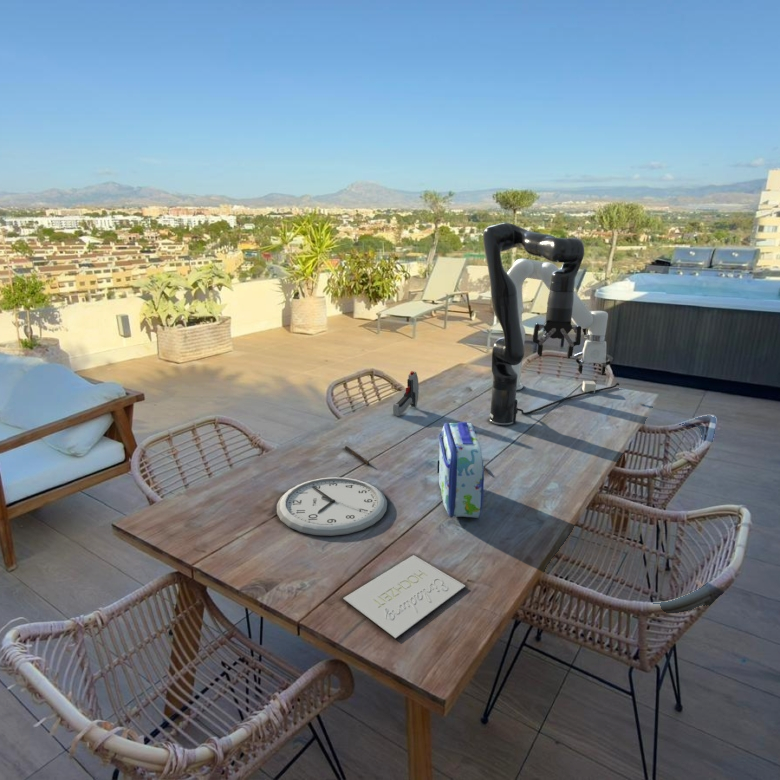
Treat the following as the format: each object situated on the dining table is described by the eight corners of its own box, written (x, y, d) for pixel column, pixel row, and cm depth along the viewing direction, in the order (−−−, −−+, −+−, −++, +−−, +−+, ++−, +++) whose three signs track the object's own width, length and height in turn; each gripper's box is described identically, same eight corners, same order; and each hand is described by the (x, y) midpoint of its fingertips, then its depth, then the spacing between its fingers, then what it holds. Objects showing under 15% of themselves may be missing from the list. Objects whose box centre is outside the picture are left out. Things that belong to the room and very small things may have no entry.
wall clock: (392, 527, 129) (268, 531, 127) (391, 533, 130) (269, 537, 127) (383, 473, 158) (282, 475, 155) (383, 478, 158) (282, 480, 156)
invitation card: (413, 554, 121) (465, 585, 111) (413, 555, 121) (465, 586, 111) (343, 597, 107) (395, 637, 97) (343, 598, 107) (395, 638, 97)
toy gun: (392, 379, 206) (413, 369, 217) (393, 417, 212) (414, 405, 223) (397, 380, 205) (418, 370, 216) (398, 418, 210) (418, 406, 222)
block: (583, 392, 246) (584, 383, 245) (582, 389, 251) (583, 380, 250) (594, 392, 246) (596, 384, 244) (593, 389, 250) (594, 381, 249)
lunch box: (435, 478, 159) (438, 413, 153) (470, 478, 159) (475, 414, 153) (442, 524, 134) (446, 449, 128) (484, 525, 134) (490, 450, 128)
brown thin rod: (344, 448, 179) (344, 445, 179) (346, 448, 179) (346, 445, 179) (367, 464, 167) (367, 462, 167) (368, 464, 167) (368, 461, 167)
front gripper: (537, 306, 158) (531, 358, 163) (586, 308, 156) (579, 361, 161) (535, 303, 165) (530, 353, 170) (582, 305, 163) (575, 355, 168)
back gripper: (577, 338, 239) (573, 374, 244) (617, 340, 236) (612, 377, 241) (575, 335, 246) (570, 370, 251) (614, 337, 243) (608, 372, 248)
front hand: (554, 357), depth 165 cm, fingers open, 8 cm apart
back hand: (591, 373), depth 246 cm, fingers open, 9 cm apart
